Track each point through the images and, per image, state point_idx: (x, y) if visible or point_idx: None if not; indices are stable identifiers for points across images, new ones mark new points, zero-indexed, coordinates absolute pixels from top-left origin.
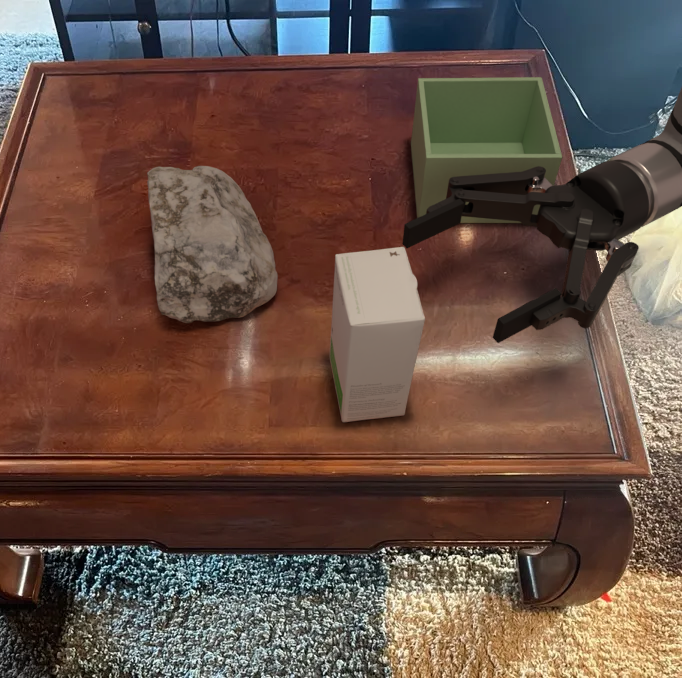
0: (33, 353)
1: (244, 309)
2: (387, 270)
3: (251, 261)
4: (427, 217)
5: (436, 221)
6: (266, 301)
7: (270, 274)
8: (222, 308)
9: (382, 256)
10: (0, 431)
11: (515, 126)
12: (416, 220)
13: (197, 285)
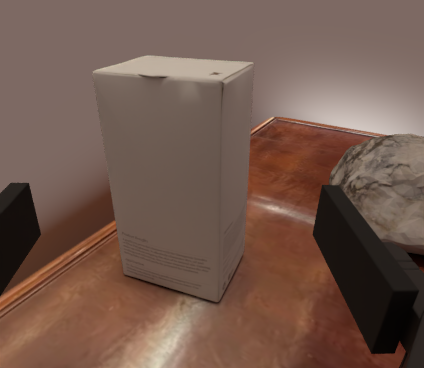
0: (333, 145)
1: None
2: (192, 68)
3: (376, 184)
4: (348, 212)
5: (345, 243)
6: None
7: (371, 220)
8: None
9: (220, 70)
10: (277, 131)
11: None
12: (343, 198)
13: (352, 160)
